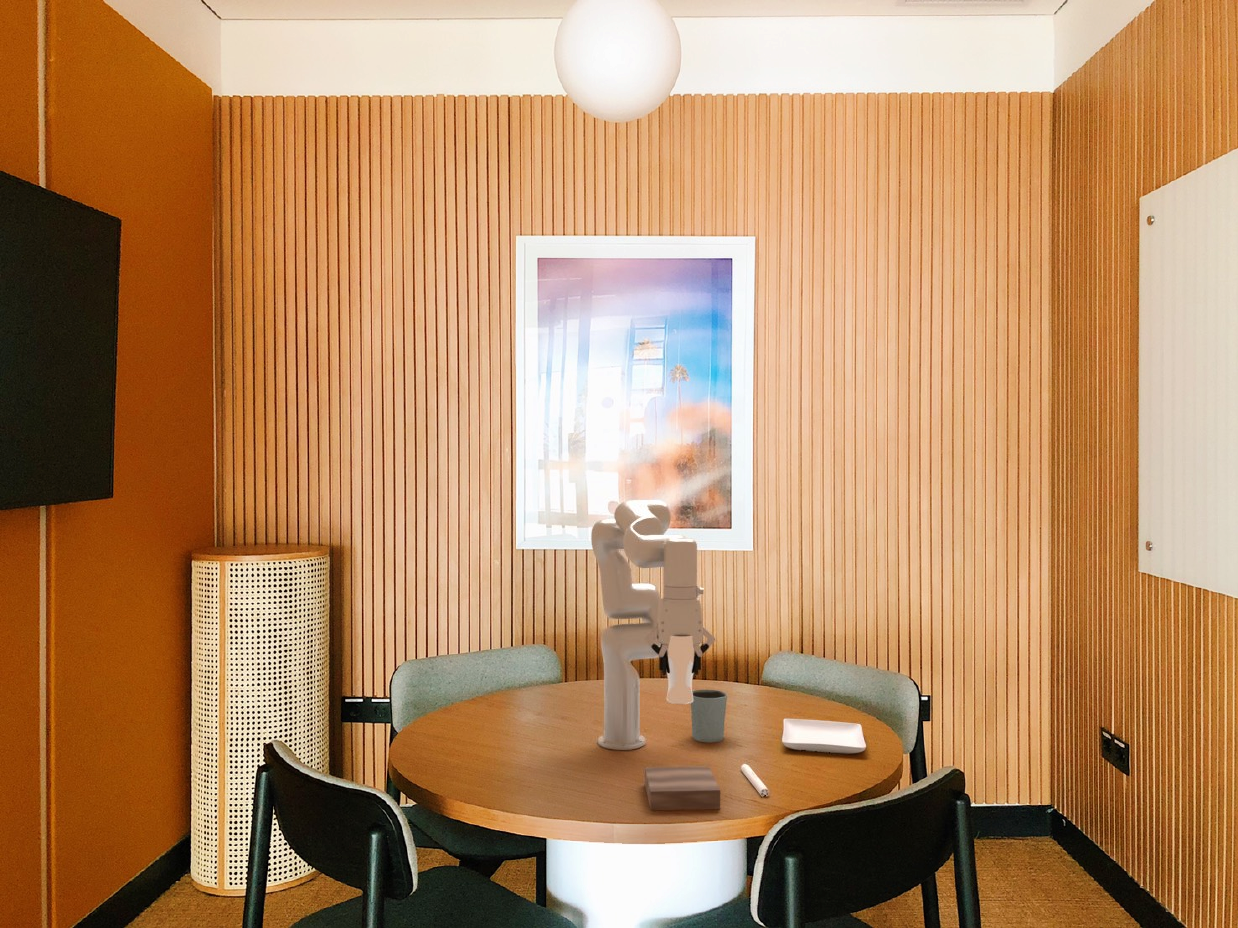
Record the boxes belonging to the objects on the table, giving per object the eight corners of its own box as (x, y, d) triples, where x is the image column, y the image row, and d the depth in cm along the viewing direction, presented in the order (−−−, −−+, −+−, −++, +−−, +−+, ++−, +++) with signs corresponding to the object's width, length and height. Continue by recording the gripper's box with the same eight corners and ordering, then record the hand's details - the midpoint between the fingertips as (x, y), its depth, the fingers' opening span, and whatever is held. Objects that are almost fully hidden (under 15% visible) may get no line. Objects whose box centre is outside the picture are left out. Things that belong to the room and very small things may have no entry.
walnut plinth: (644, 784, 196) (644, 767, 196) (708, 783, 197) (708, 766, 197) (650, 810, 181) (650, 791, 181) (720, 808, 182) (720, 790, 182)
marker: (738, 770, 207) (738, 760, 207) (747, 769, 207) (747, 760, 207) (760, 798, 189) (760, 787, 189) (769, 797, 189) (769, 787, 189)
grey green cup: (683, 739, 230) (684, 695, 230) (698, 729, 239) (698, 687, 239) (719, 745, 225) (719, 700, 225) (732, 735, 234) (732, 691, 234)
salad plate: (867, 759, 215) (866, 746, 215) (781, 754, 219) (781, 740, 219) (860, 734, 236) (860, 722, 236) (783, 730, 240) (783, 717, 240)
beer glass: (693, 696, 193) (694, 630, 193) (697, 705, 186) (697, 636, 186) (663, 696, 193) (663, 630, 193) (665, 705, 186) (666, 636, 186)
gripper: (715, 591, 194) (715, 669, 194) (640, 591, 193) (640, 669, 193) (721, 595, 186) (721, 677, 186) (642, 596, 186) (642, 677, 185)
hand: (679, 672), depth 190 cm, fingers closed on beer glass, 6 cm apart
